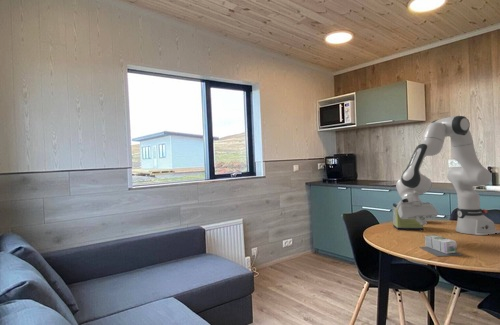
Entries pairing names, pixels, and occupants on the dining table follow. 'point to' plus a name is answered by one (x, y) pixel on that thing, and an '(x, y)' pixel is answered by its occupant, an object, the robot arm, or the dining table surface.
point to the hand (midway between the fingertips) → (424, 224)
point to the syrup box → (441, 244)
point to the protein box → (404, 221)
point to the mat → (439, 252)
